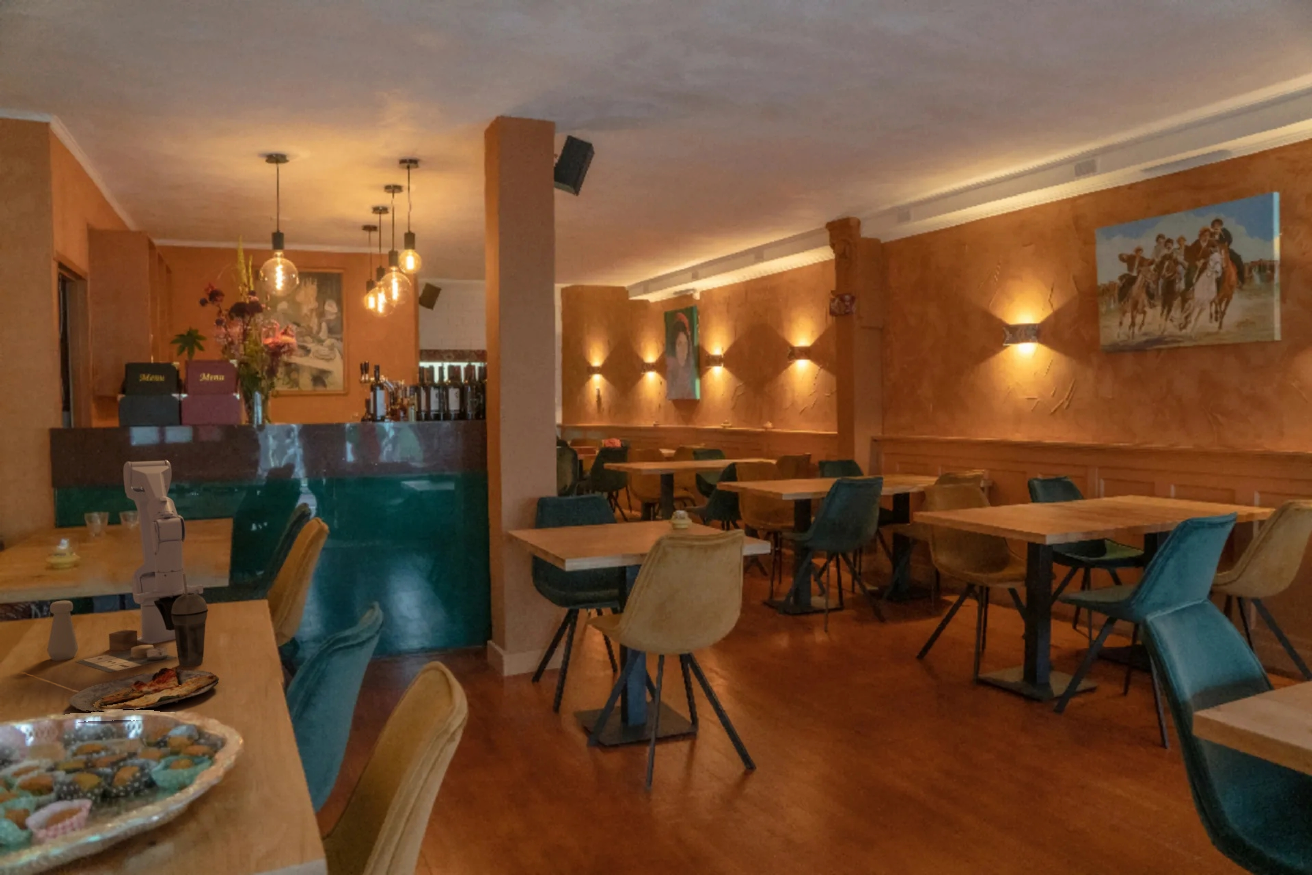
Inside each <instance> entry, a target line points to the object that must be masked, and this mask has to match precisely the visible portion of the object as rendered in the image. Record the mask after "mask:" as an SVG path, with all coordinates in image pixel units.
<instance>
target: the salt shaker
mask: <svg viewBox="0 0 1312 875" xmlns="http://www.w3.org/2000/svg"><path fill="white" fill-rule="evenodd" d="M49 605H50V606H49V611H50V613H51V614H53V618H52V623H51V629H50V633H49V639H48V645H47V649H46V651H47V654H48V656H49V658H50V659H51V661H59V662H60V661H66V660H70V659H73V658H75V657H76V655H77V652H78V649H79V645H78V641H77V636H76V632H75V627H74V624H73V618H72V615H71V612H72V611H73V609H74V604H73V602H72V601H71V600H57V601H54V602H52V603H51V604H49Z"/></svg>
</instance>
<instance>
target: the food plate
mask: <svg viewBox="0 0 1312 875" xmlns="http://www.w3.org/2000/svg"><path fill="white" fill-rule="evenodd" d="M219 680H220V679H219V677H218V676H217V675H216V674H214V673H213V672H210V671H205V670H197V669H196V670H194V669H190V670H189V669H178V668H177V667H176V666H173V667H171V668H168V667H162V668H160V670H159V671H156V672H150V673H140V674H135V675H130V676H126V677H122V678H117V679H113V680H109V681H104V682H102V683H101V682H100V683H96V684H94V685H92V686H88V687H86V688H84V689H82V690H80V691H77V693H75V694H74V695H72V696H70V698H68V704H69V705H70V706H71V707H73V708H75V709H76V710H81V711H83V712H87V711H86V710H103V709H136V708H143V709H149V708H150V709H152V708H158V707H160V706H162V705H166V704H167V705H168V704H170V703H171V704H172V703H173V702H175V703H179V701H180V700H183V699H186V698H191V697H195V696H197V695H201V694H204V693H207V692H208V693H209V691H211V690H212V689H214V687H216V686H217V685H218V684H219ZM179 685H181V686H179ZM122 689H124V691H125V690H129V689H131V691H132V692H131V691H130V692H129V691H126V692H122V693H117V692H121V690H122ZM113 693H117V694H115V696H114V695H111V694H113ZM150 694H152V695H150ZM108 695H110V696H108ZM144 695H146V696H144ZM98 700H101V701H98ZM97 701H98V704H99V705H100V706H106V707H104V708H99V707H100V706H99V705H98V706H99V707H96V706H95V707H94V705H93V704H95V702H97ZM124 702H126V703H124ZM113 704H117V705H113ZM107 705H109V706H107Z"/></svg>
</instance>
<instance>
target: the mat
mask: <svg viewBox="0 0 1312 875" xmlns="http://www.w3.org/2000/svg"><path fill="white" fill-rule="evenodd" d="M173 659H178V656H177V657H176V656H173V655H168V654H167V658H166V659H163V660H157V661H147V658H140V659H134V658H131V649H128V650H123V651H120V652H114V653H111V654H103V655H100V656H94V657H90V658H85V659H81V660H78V661H75V663H77V664H80V665H84V666H87V667H90V668H93V669H97V670H99V671H103V672H105V673H109V674H110V673H116V672H121V671H123V670H127V669H128V670H129V669H132V668H137V667H141V666H146V665H151V664H155V663H160V662H163V661H167V660H173Z"/></svg>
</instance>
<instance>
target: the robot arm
mask: <svg viewBox="0 0 1312 875" xmlns="http://www.w3.org/2000/svg"><path fill="white" fill-rule="evenodd" d="M171 482H172V465H171V463H170V461H168V460H167V459H164V460H150V461H148V460H147V461H145V460H144V461H126V462H125V463H124V465H123V485H124V492H125V495H126V498H127V499H130V500H132V501H133V502H134V503H135V506H136V509H137V510H136V511H137V517H138V526H139V532H140V533H139V535H140V541H141V548H142V552H141V553H142V557H143V558H142V560H143V564H142V565H140V567H138V568H137V569H136V570H135V571H134V572H133V575H132V589H131V590H132V598H133V601H134V603H135V604H139V605H140V630H141V636H139V637H138V636H137V642H140V643H144V644H146V645H153V644H157V643H163V642H167V641H172V640H176V638H175V630H174V624H173V621H172V615H171V612H172V606H173V604H174V602H175V600H176V599H177V598H178V597H180V596H181V595H183V594H185V589H184V582H183V574H184V553H183V552H184V550H183V546H184V545H183V542H185V539H186V534H187V533H186V531H187V530H186V523H185V520H184V517H183V516H181V514H178V512H177V509H176V504H175V502H174V500H173V499H172V498H170V497H168V493H169V490H170V486H171V485H170V484H171ZM187 591H188V593H195V594H198V595H200V594H203V593H204V585H203V584H193V585H192V584H191V585H187Z"/></svg>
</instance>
